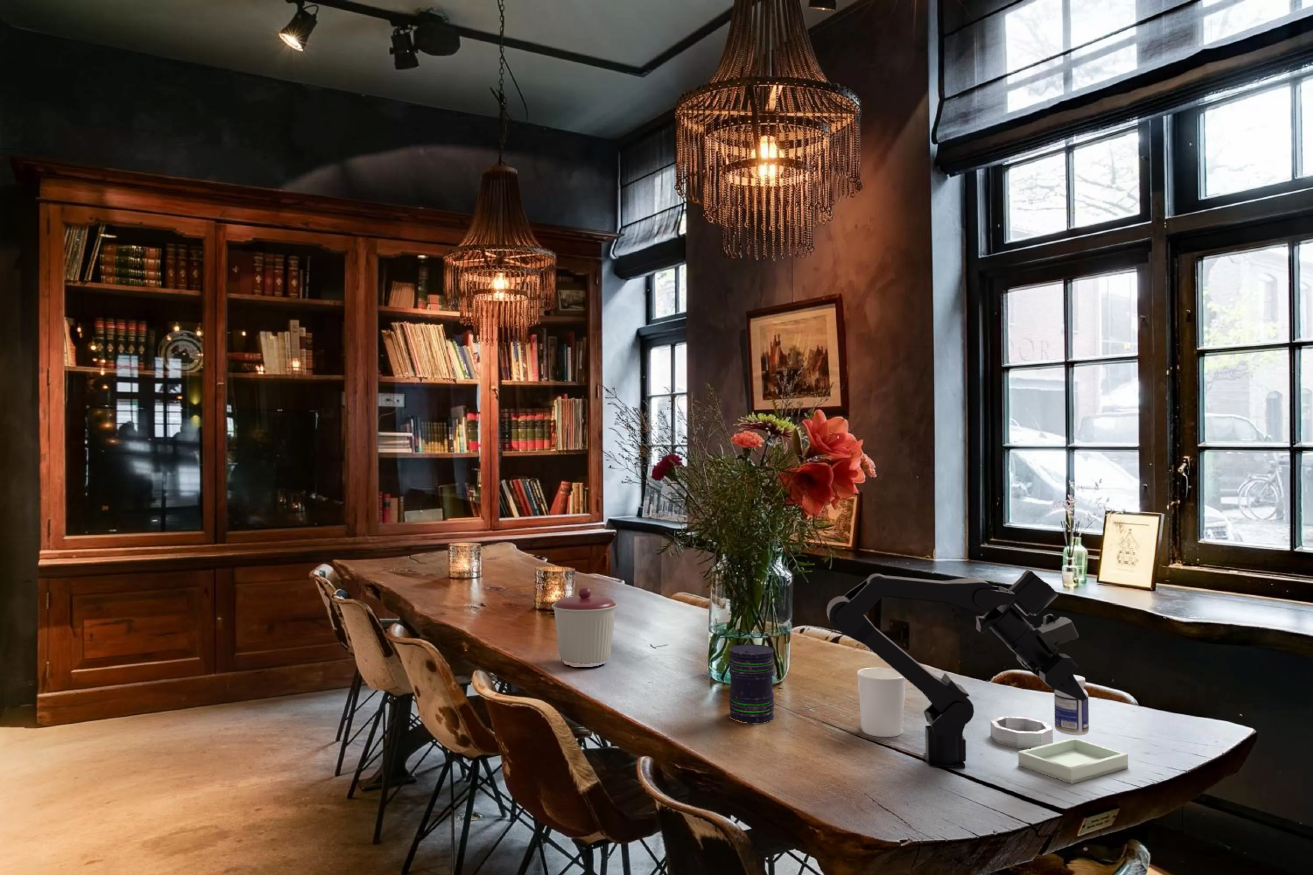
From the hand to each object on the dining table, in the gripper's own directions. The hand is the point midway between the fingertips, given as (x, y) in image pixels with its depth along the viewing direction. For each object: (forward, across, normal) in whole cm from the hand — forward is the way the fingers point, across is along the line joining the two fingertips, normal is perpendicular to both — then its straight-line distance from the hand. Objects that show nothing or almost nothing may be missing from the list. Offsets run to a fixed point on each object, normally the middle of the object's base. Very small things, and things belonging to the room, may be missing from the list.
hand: (1079, 694), depth 165 cm
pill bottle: (+4, 0, +6) cm, 7 cm away
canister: (-64, +70, +85) cm, 128 cm away
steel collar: (+5, +15, +14) cm, 21 cm away
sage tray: (+8, 0, +10) cm, 13 cm away
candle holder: (-14, +18, +33) cm, 40 cm away
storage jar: (-32, +25, +52) cm, 67 cm away
